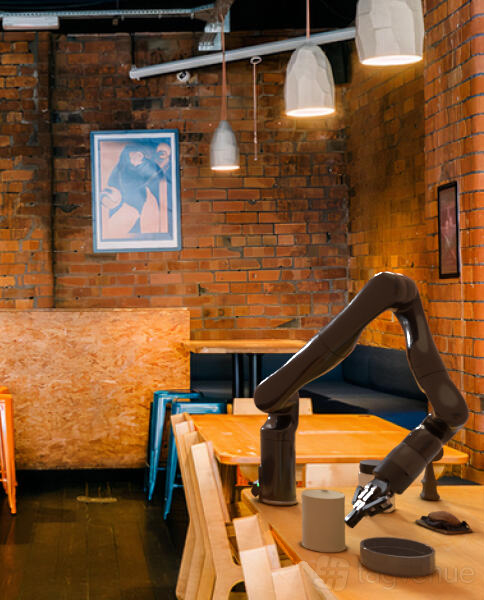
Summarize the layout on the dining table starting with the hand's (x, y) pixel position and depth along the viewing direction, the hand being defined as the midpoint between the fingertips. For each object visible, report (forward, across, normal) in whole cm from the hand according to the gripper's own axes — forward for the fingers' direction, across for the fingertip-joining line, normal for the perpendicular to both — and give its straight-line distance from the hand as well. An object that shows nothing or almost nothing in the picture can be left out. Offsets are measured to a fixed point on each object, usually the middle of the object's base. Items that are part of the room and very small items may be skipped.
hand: (347, 524), depth 176 cm
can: (+7, 0, -1) cm, 7 cm away
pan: (+1, +15, +6) cm, 16 cm away
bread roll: (-17, -11, +24) cm, 31 cm away
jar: (-12, -30, +18) cm, 37 cm away
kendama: (-26, -38, +32) cm, 56 cm away
